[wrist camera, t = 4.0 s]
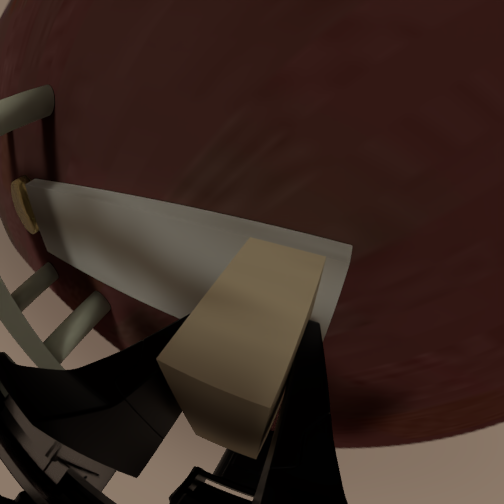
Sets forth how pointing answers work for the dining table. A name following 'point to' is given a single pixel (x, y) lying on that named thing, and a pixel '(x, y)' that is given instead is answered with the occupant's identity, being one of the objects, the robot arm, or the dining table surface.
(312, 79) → the dining table surface
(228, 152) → the dining table surface
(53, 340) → the miniature white bench
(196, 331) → the scraper
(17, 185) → the token
